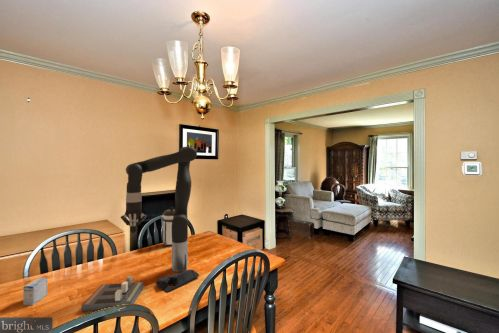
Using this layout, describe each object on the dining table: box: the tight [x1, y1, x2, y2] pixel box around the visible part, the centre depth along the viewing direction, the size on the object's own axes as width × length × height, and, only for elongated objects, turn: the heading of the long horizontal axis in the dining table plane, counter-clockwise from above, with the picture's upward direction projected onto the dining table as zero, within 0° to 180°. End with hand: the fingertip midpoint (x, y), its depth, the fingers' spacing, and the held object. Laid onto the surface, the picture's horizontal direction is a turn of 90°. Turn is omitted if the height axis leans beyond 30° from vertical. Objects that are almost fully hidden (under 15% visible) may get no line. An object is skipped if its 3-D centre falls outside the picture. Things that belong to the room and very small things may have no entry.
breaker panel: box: [81, 275, 144, 313], centre depth 107 cm, size 20×17×7 cm
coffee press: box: [160, 206, 175, 248], centre depth 182 cm, size 17×16×30 cm
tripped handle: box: [121, 281, 128, 293], centre depth 108 cm, size 2×2×4 cm
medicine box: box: [22, 277, 48, 306], centre depth 106 cm, size 8×4×9 cm, turn 5°
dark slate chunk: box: [155, 269, 200, 293], centre depth 125 cm, size 15×22×5 cm
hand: (133, 232), depth 122 cm, fingers closed
